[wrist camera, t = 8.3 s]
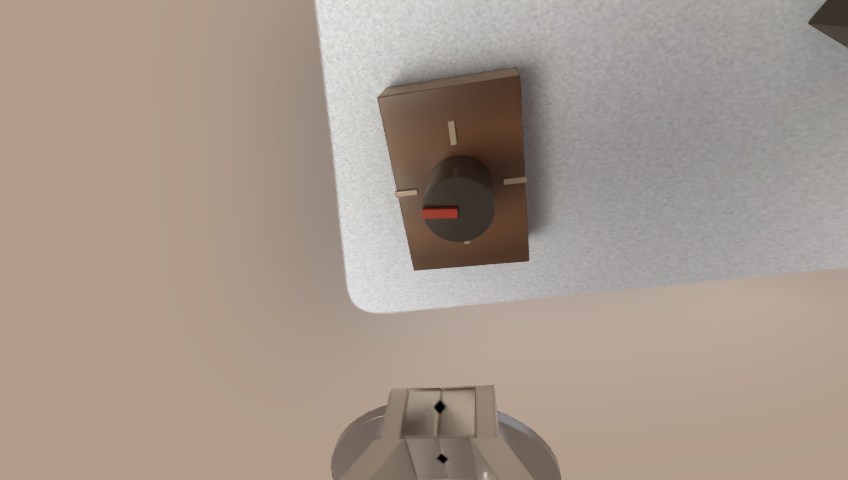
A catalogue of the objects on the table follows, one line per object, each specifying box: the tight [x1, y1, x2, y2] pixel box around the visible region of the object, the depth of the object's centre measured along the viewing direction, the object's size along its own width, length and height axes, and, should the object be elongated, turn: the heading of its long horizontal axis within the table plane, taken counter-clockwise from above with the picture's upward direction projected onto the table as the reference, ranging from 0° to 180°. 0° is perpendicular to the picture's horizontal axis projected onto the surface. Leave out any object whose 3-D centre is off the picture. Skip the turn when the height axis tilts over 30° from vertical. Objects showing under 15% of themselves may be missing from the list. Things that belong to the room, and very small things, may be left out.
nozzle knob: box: [422, 156, 495, 242], centre depth 24 cm, size 4×4×4 cm
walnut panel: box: [378, 67, 529, 270], centre depth 27 cm, size 12×8×3 cm
